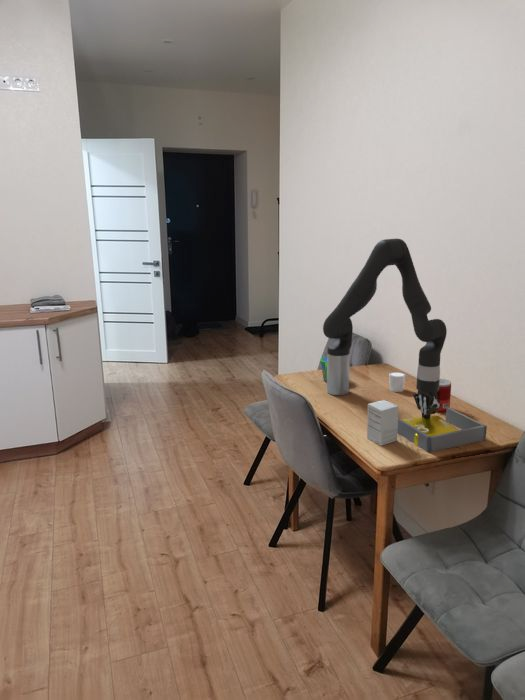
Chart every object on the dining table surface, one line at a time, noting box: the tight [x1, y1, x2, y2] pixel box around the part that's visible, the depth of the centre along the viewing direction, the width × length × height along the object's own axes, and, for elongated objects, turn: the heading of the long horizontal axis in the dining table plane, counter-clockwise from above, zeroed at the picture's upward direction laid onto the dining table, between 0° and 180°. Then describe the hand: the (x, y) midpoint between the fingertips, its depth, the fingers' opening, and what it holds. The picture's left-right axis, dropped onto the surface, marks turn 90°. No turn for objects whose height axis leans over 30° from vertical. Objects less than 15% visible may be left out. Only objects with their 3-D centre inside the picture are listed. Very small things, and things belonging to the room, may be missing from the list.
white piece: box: [388, 371, 406, 393], centre depth 222 cm, size 7×7×7 cm
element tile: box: [401, 415, 458, 447], centre depth 177 cm, size 15×15×5 cm
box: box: [397, 407, 488, 453], centre depth 177 cm, size 18×23×5 cm
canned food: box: [436, 378, 452, 413], centre depth 199 cm, size 8×8×11 cm
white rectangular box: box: [366, 399, 399, 446], centre depth 174 cm, size 7×7×13 cm
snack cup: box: [319, 356, 327, 383], centre depth 236 cm, size 16×10×10 cm
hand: (425, 423), depth 184 cm, fingers closed
